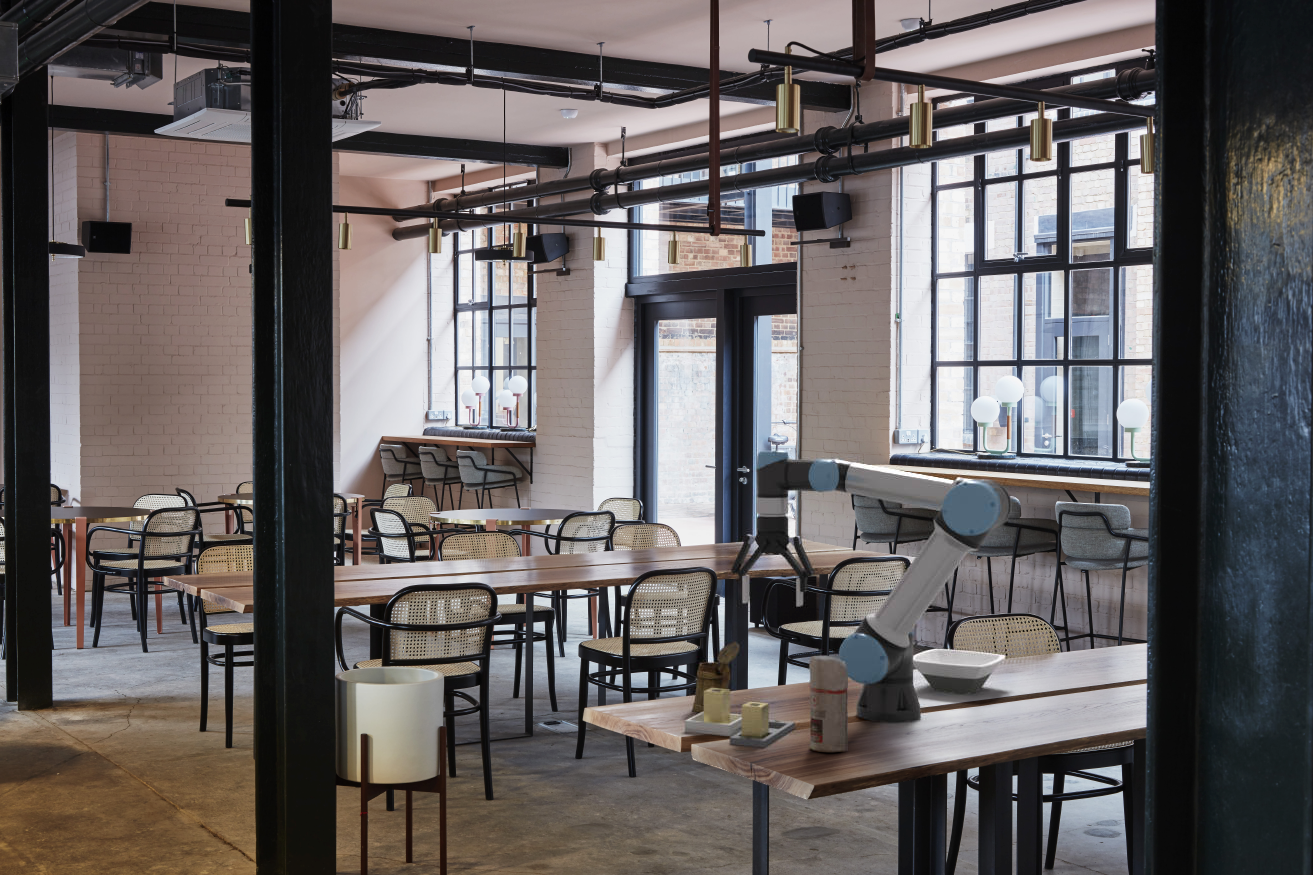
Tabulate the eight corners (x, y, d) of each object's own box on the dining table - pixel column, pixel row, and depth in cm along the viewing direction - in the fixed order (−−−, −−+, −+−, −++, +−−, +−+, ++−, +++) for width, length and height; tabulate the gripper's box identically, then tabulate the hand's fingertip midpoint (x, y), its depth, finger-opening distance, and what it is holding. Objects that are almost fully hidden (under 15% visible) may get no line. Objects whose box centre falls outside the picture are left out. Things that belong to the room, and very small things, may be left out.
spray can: (805, 745, 276) (805, 652, 276) (842, 744, 276) (842, 652, 276) (813, 754, 267) (813, 659, 267) (852, 754, 268) (852, 658, 268)
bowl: (1011, 686, 342) (1011, 654, 342) (984, 700, 322) (984, 667, 322) (932, 677, 353) (932, 647, 353) (901, 691, 334) (901, 659, 334)
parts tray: (747, 726, 294) (747, 715, 294) (730, 736, 284) (730, 724, 284) (704, 721, 299) (703, 710, 299) (685, 731, 289) (685, 720, 289)
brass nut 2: (768, 739, 281) (768, 702, 281) (761, 744, 277) (761, 706, 277) (749, 737, 283) (749, 701, 283) (741, 741, 279) (741, 705, 279)
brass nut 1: (730, 724, 292) (729, 688, 292) (722, 728, 288) (722, 692, 288) (711, 722, 294) (711, 687, 294) (703, 726, 290) (703, 690, 290)
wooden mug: (719, 718, 302) (719, 642, 302) (685, 709, 313) (685, 635, 313) (748, 714, 307) (748, 639, 307) (713, 704, 318) (713, 632, 318)
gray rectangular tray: (794, 728, 292) (794, 721, 292) (764, 747, 274) (764, 740, 274) (761, 724, 295) (761, 718, 295) (729, 743, 277) (729, 736, 277)
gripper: (827, 515, 303) (827, 605, 303) (729, 513, 313) (729, 599, 313) (817, 517, 296) (817, 608, 296) (718, 514, 307) (718, 603, 307)
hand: (772, 604), depth 305 cm, fingers open, 13 cm apart
